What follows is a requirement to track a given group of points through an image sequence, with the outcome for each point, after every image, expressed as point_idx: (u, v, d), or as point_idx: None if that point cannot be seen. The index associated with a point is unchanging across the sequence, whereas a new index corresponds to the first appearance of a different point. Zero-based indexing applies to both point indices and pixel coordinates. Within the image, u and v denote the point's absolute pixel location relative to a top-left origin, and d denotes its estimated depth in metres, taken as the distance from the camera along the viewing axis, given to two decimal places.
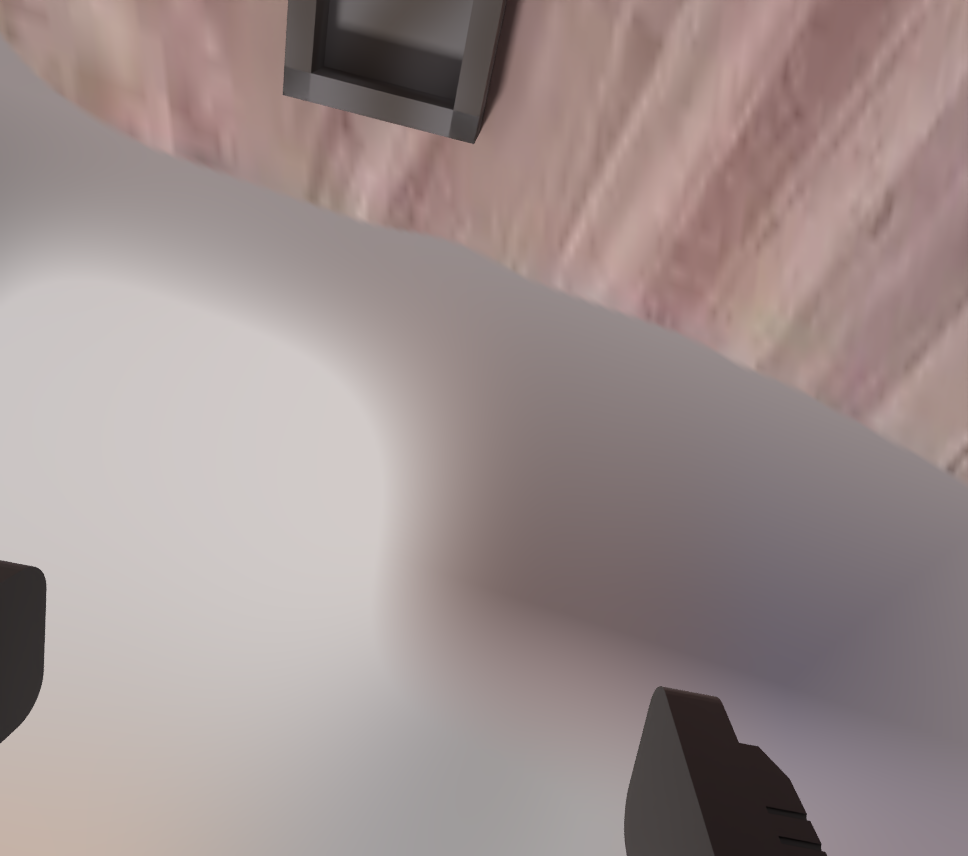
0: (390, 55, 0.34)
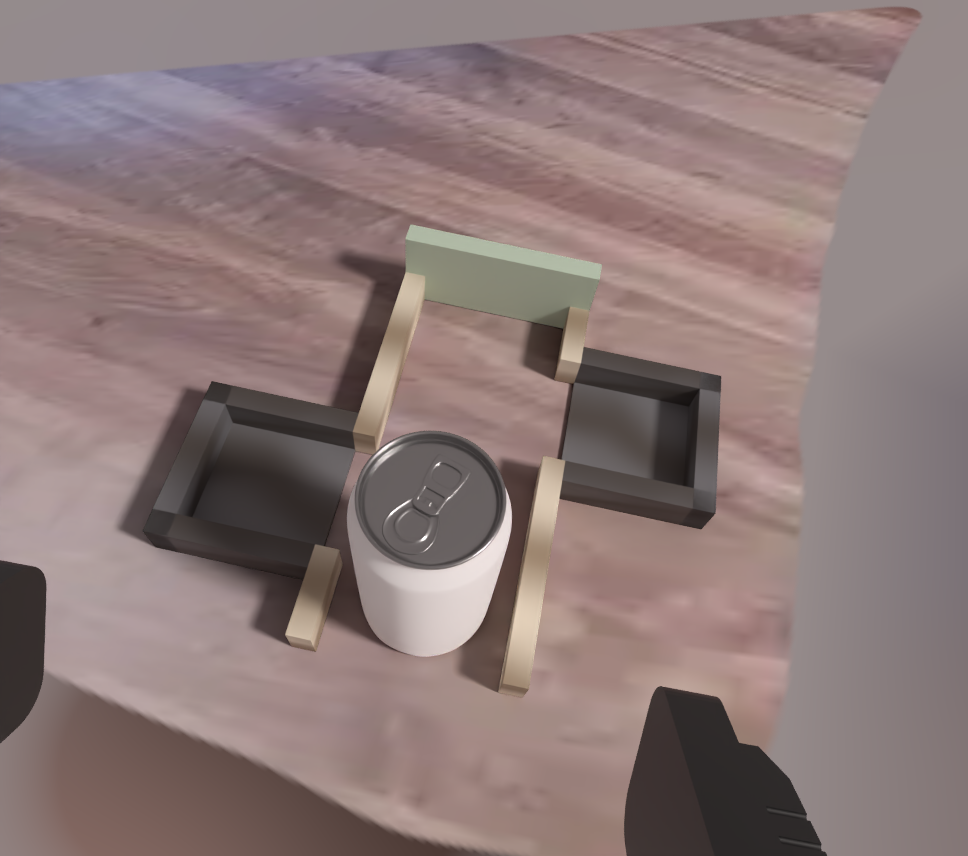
0: (665, 452, 0.43)
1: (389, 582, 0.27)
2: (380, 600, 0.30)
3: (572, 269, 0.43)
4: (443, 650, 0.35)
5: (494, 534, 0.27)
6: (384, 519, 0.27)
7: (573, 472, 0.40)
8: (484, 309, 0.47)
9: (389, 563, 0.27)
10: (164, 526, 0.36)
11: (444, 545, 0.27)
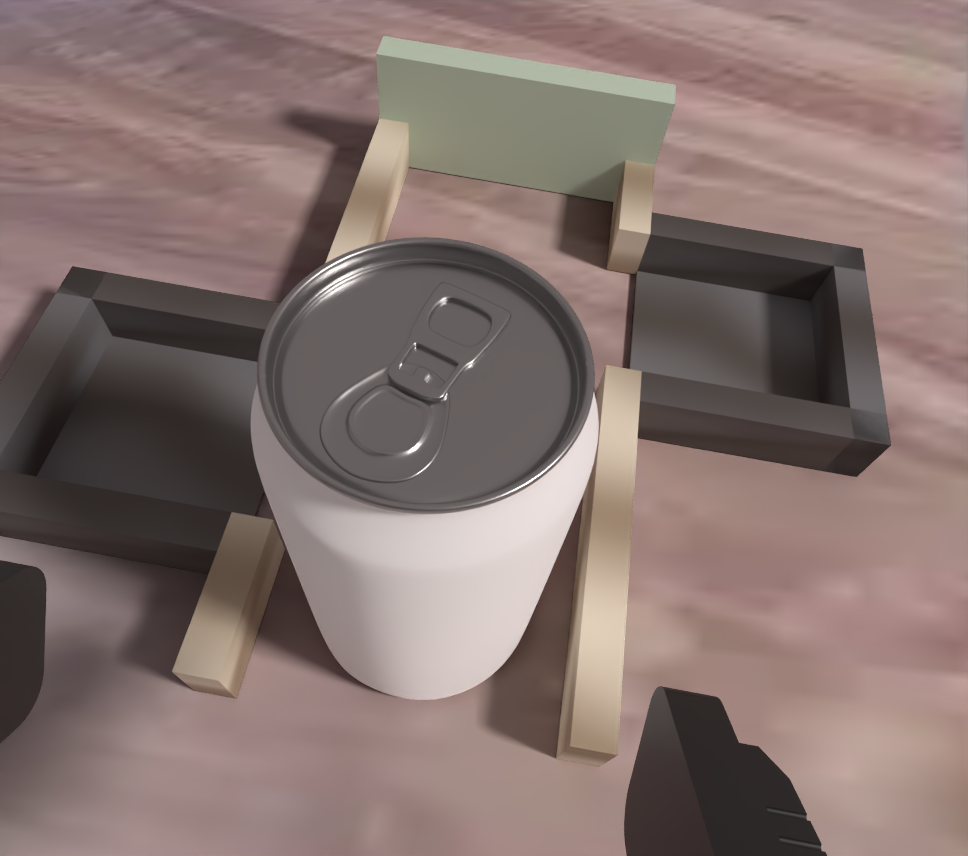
0: (786, 365, 0.28)
1: (341, 552, 0.12)
2: (332, 597, 0.15)
3: (632, 91, 0.28)
4: (458, 688, 0.20)
5: (575, 432, 0.12)
6: (326, 410, 0.12)
7: (656, 388, 0.25)
8: (497, 177, 0.32)
9: (337, 505, 0.12)
10: None
11: (462, 461, 0.12)
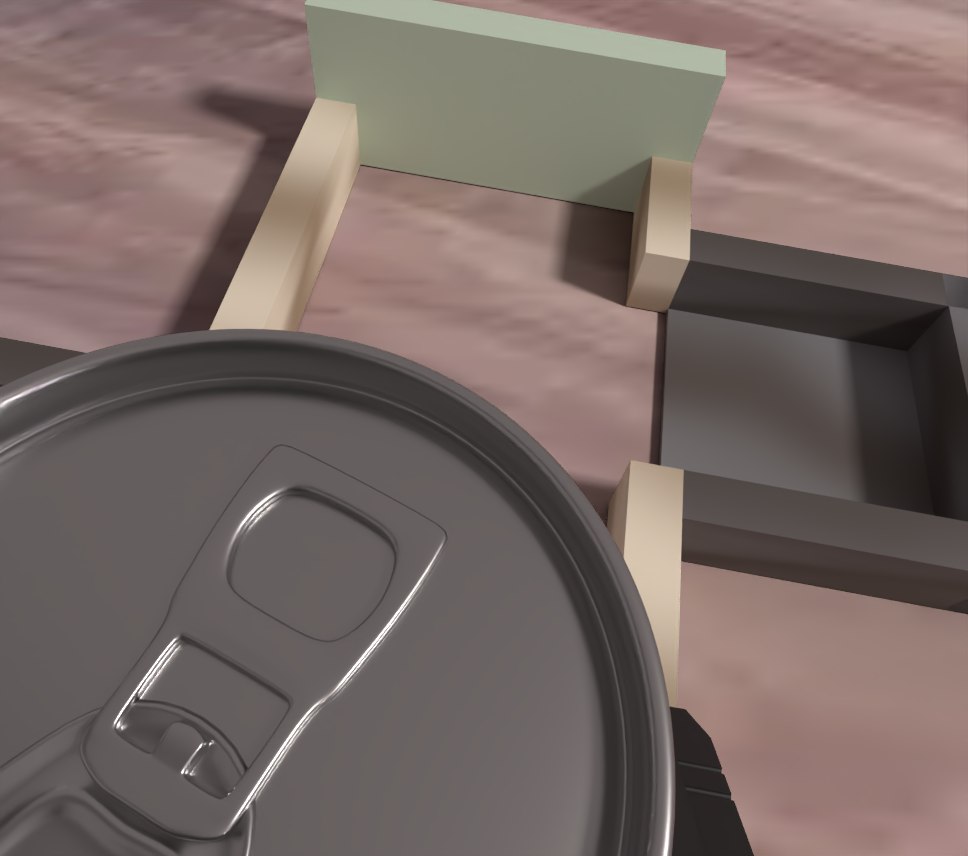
0: (880, 446, 0.20)
1: None
2: None
3: (664, 58, 0.20)
4: None
5: None
6: None
7: (706, 497, 0.16)
8: (478, 179, 0.24)
9: None
10: None
11: None
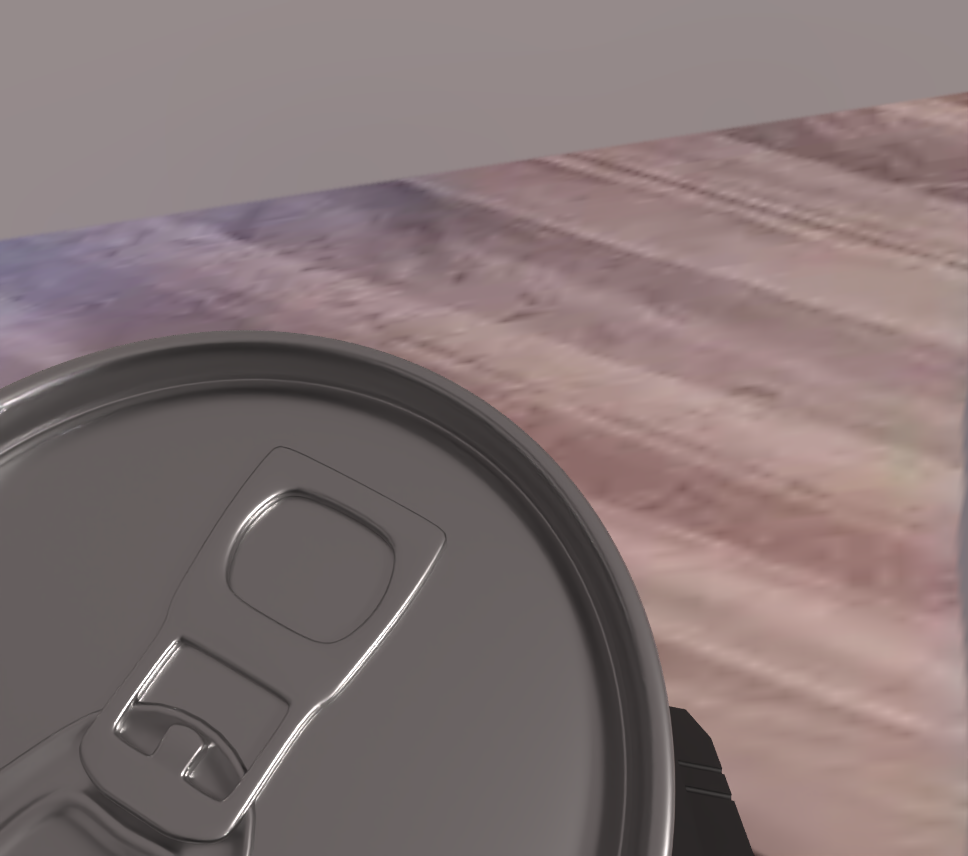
0: None
1: None
2: None
3: None
4: None
5: None
6: None
7: None
8: None
9: None
10: None
11: None
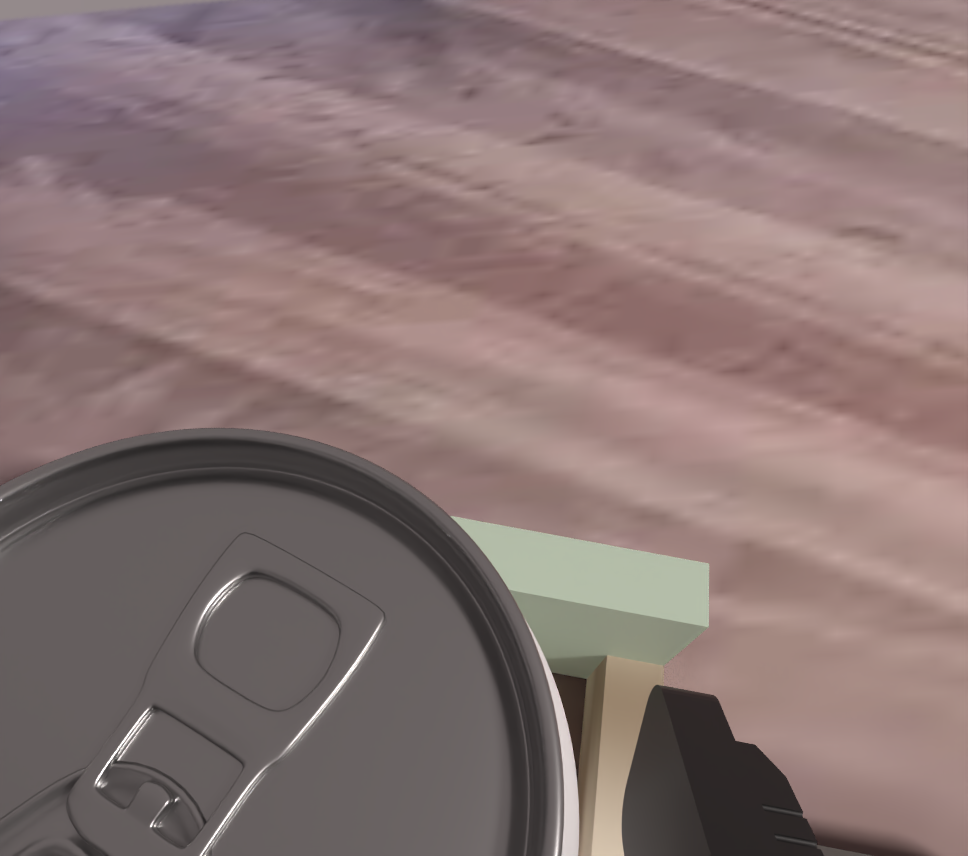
0: None
1: None
2: None
3: (617, 591, 0.13)
4: None
5: None
6: None
7: None
8: None
9: None
10: None
11: None
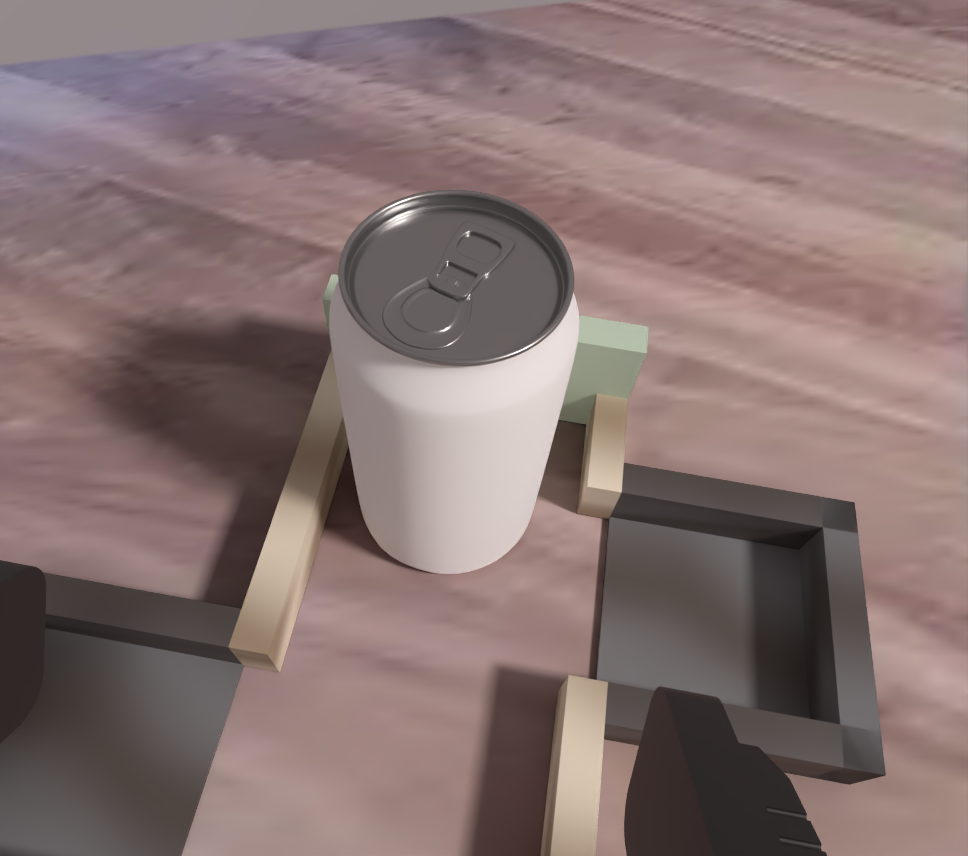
0: (771, 638, 0.26)
1: (396, 403, 0.17)
2: (384, 456, 0.20)
3: (600, 337, 0.26)
4: (475, 561, 0.25)
5: (559, 317, 0.17)
6: (386, 303, 0.17)
7: (623, 705, 0.22)
8: None
9: (394, 365, 0.17)
10: None
11: (481, 336, 0.17)
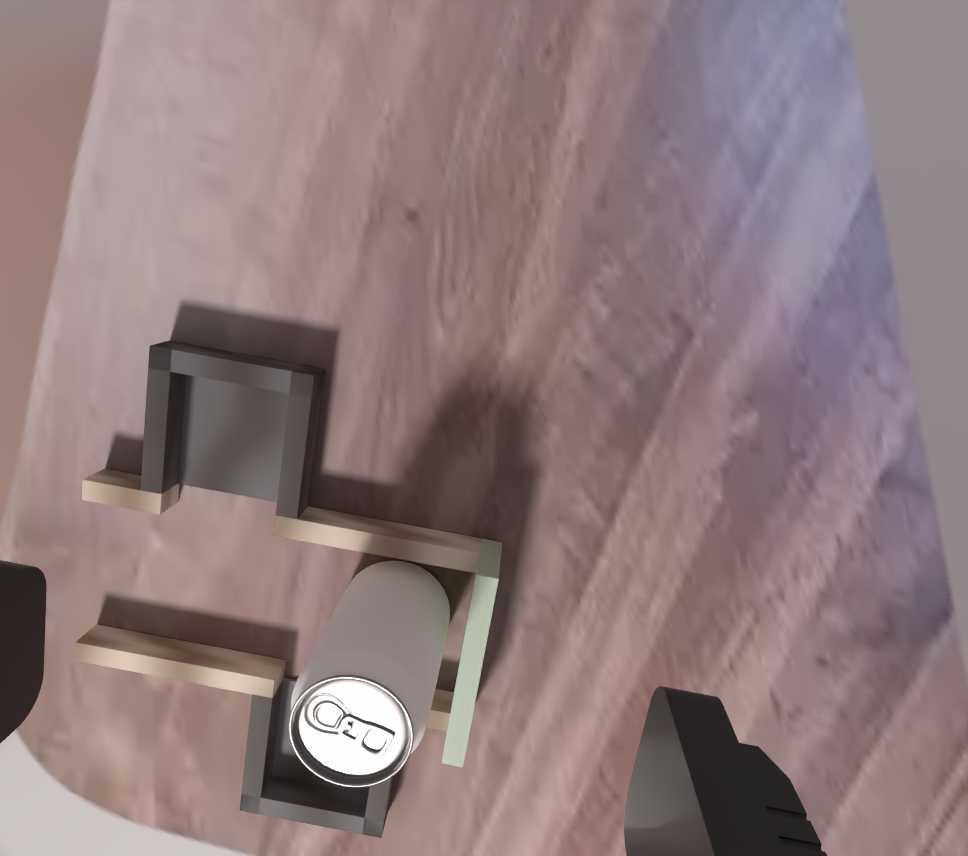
0: None
1: (295, 684, 0.34)
2: (316, 644, 0.37)
3: (452, 738, 0.41)
4: None
5: (322, 777, 0.34)
6: (330, 695, 0.33)
7: (261, 703, 0.44)
8: None
9: (299, 694, 0.33)
10: (156, 364, 0.40)
11: (314, 738, 0.34)
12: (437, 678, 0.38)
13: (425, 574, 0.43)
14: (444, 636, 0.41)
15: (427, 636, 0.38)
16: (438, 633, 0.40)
